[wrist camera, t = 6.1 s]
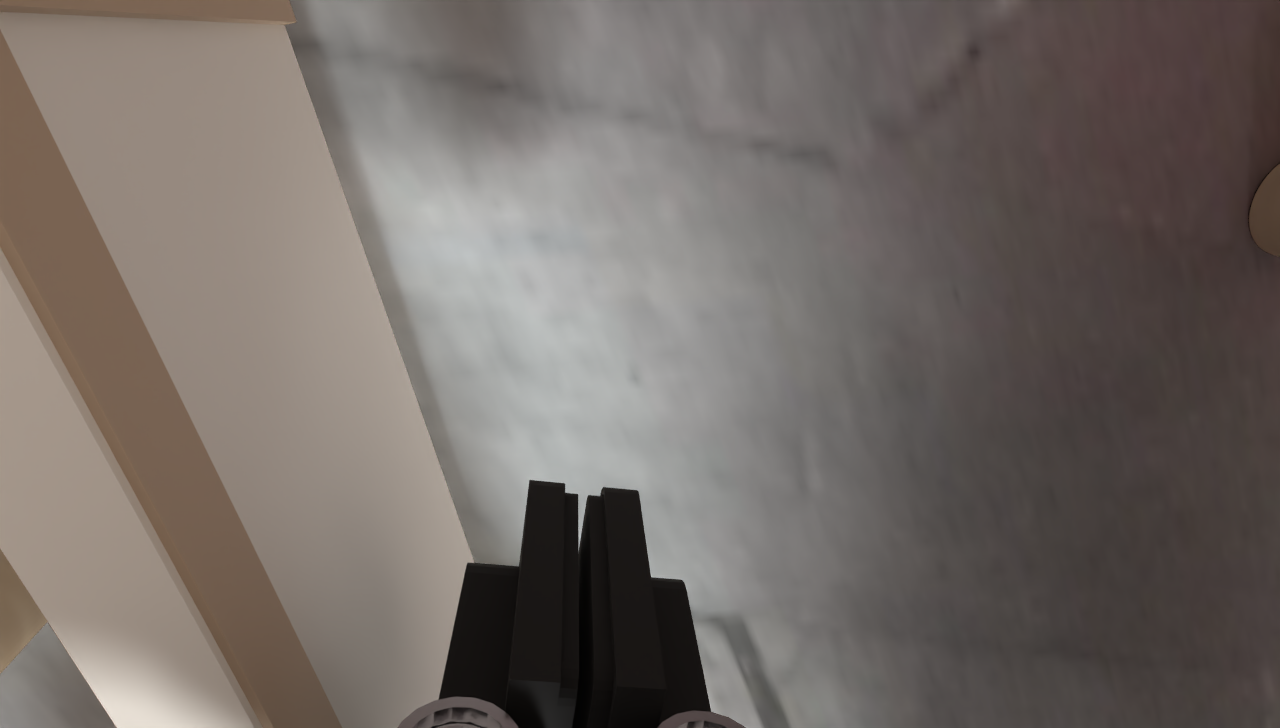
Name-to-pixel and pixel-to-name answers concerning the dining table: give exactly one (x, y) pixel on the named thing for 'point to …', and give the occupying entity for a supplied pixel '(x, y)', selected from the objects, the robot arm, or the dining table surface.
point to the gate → (206, 382)
